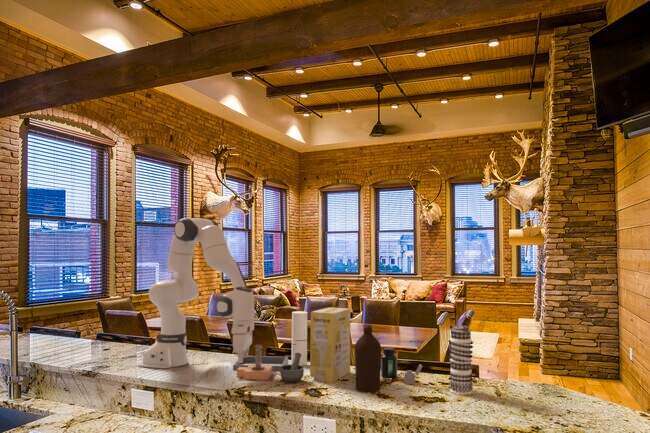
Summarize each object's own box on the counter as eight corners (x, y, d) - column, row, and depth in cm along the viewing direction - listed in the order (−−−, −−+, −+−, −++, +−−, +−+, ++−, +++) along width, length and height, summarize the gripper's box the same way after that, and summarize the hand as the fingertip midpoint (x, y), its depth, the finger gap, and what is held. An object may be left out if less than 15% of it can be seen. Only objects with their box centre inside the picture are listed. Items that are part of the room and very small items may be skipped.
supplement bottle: (393, 380, 198) (393, 351, 199) (378, 377, 201) (378, 349, 202) (399, 376, 204) (399, 348, 204) (384, 374, 207) (384, 346, 208)
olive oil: (384, 387, 188) (384, 323, 189) (376, 394, 178) (376, 327, 179) (359, 383, 192) (359, 321, 193) (350, 391, 182) (350, 325, 184)
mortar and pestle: (295, 390, 183) (295, 358, 184) (274, 386, 187) (275, 355, 188) (309, 382, 193) (309, 352, 194) (290, 379, 197) (290, 350, 198)
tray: (232, 373, 206) (233, 365, 206) (241, 363, 224) (241, 355, 224) (283, 374, 205) (283, 366, 206) (287, 364, 223) (288, 356, 223)
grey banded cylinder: (471, 396, 176) (470, 328, 178) (446, 392, 181) (445, 326, 182) (476, 390, 184) (475, 325, 186) (452, 386, 189) (451, 323, 190)
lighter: (404, 384, 192) (404, 364, 193) (404, 382, 194) (404, 363, 194) (422, 385, 190) (422, 365, 191) (422, 384, 192) (422, 364, 193)
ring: (235, 378, 192) (235, 371, 192) (240, 372, 202) (240, 365, 202) (268, 379, 192) (268, 372, 192) (271, 373, 202) (272, 365, 202)
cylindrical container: (304, 369, 214) (305, 313, 215) (289, 368, 215) (290, 313, 217) (308, 365, 221) (308, 311, 222) (293, 364, 222) (294, 311, 224)
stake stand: (237, 384, 190) (238, 348, 191) (244, 374, 204) (245, 341, 205) (272, 384, 189) (272, 349, 190) (277, 375, 203) (277, 342, 204)
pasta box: (328, 369, 214) (329, 307, 216) (350, 372, 209) (350, 308, 211) (310, 379, 198) (310, 311, 199) (332, 382, 193) (333, 313, 195)
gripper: (241, 322, 209) (241, 354, 208) (230, 330, 188) (230, 365, 187) (255, 322, 209) (255, 354, 207) (246, 330, 188) (245, 365, 187)
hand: (243, 359), depth 197 cm, fingers open, 8 cm apart
